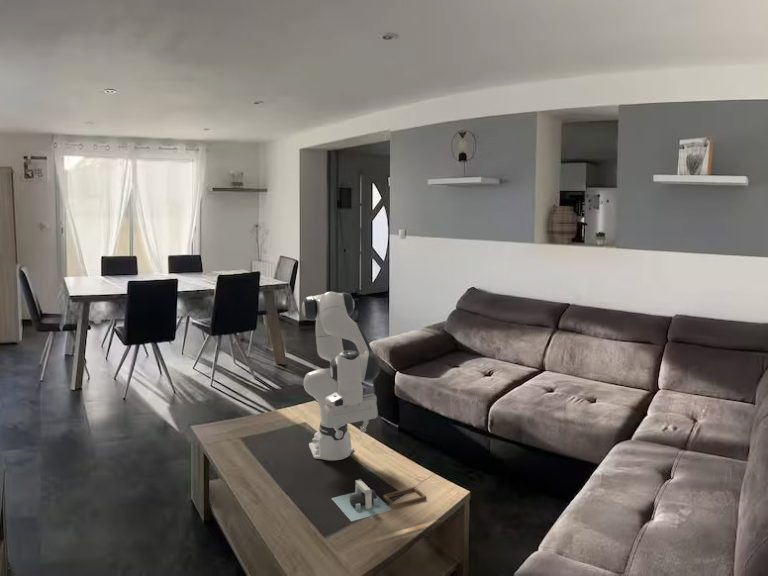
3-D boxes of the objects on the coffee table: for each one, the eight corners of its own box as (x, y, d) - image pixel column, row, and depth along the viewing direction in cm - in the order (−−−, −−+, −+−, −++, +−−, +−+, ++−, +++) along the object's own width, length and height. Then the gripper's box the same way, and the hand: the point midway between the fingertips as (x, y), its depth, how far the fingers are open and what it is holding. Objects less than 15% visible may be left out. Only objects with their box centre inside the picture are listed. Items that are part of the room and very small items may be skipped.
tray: (383, 500, 221) (383, 494, 220) (414, 491, 227) (414, 486, 227) (394, 510, 213) (394, 505, 213) (426, 501, 219) (426, 496, 219)
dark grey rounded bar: (350, 504, 216) (349, 493, 216) (372, 498, 220) (371, 488, 220) (354, 508, 213) (354, 497, 212) (376, 502, 217) (376, 492, 217)
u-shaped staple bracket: (355, 497, 220) (355, 480, 219) (360, 496, 221) (360, 479, 220) (366, 509, 212) (366, 491, 211) (371, 508, 213) (371, 490, 212)
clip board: (331, 500, 221) (331, 493, 220) (369, 490, 228) (369, 483, 227) (351, 524, 205) (351, 515, 204) (392, 512, 212) (392, 504, 212)
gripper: (372, 390, 219) (373, 426, 221) (320, 398, 210) (321, 436, 211) (380, 394, 214) (381, 431, 215) (327, 403, 204) (328, 442, 206)
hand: (351, 433), depth 213 cm, fingers open, 8 cm apart
